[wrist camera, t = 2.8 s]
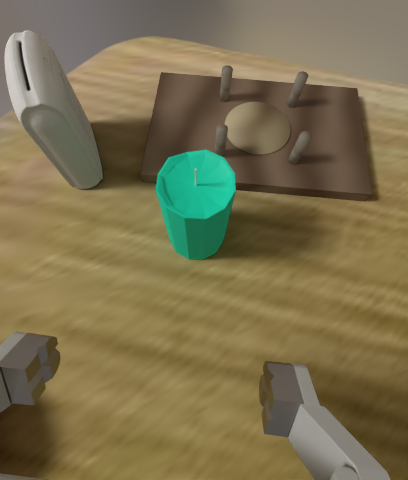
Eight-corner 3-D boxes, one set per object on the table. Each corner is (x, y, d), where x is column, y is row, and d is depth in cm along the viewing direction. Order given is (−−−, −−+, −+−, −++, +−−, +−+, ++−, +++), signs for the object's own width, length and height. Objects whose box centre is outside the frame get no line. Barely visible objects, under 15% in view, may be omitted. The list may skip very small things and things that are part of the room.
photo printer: (57, 127, 35) (-14, 20, 23) (91, 119, 35) (38, 10, 24) (71, 195, 31) (-4, 108, 20) (108, 184, 32) (56, 95, 20)
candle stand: (351, 97, 37) (375, 58, 32) (364, 201, 32) (397, 173, 26) (162, 82, 38) (156, 41, 32) (142, 181, 32) (132, 150, 27)
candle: (229, 216, 31) (247, 144, 19) (216, 266, 29) (228, 218, 17) (178, 203, 31) (167, 126, 20) (162, 252, 29) (138, 195, 18)
